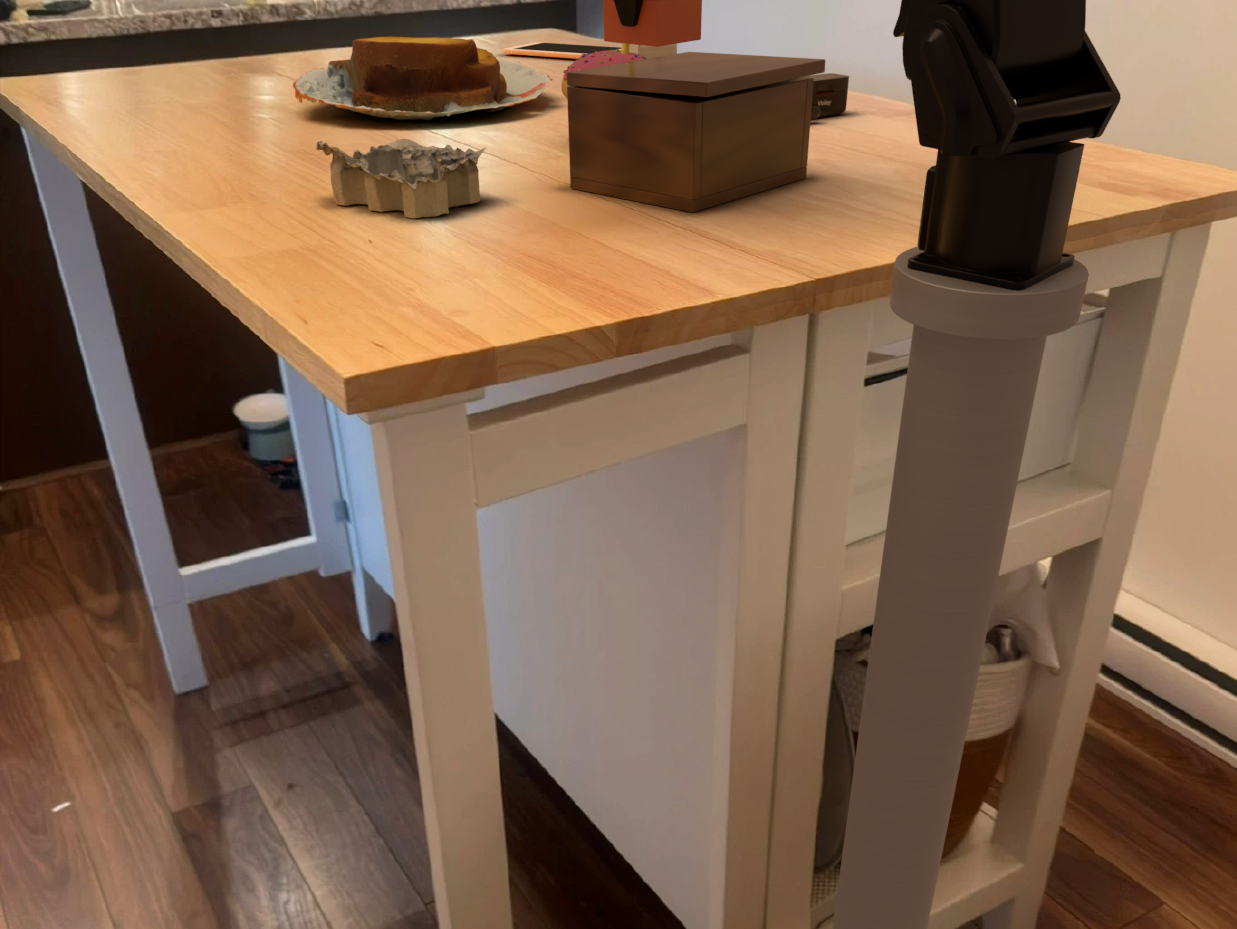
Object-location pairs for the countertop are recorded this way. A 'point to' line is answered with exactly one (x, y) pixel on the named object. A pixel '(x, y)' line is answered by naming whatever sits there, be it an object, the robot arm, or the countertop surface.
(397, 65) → the food on plate
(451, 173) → the egg carton
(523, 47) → the cell phone
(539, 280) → the countertop surface
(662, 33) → the block
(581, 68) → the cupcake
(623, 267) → the countertop surface
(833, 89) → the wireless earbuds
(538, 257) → the countertop surface
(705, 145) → the chest
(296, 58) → the countertop surface
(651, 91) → the lid
